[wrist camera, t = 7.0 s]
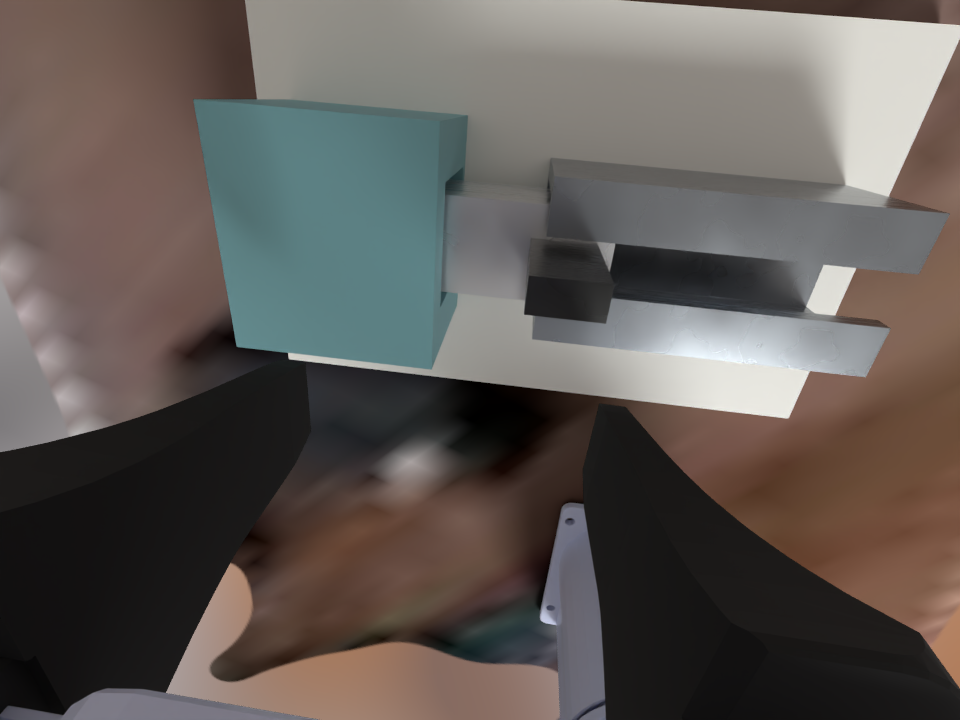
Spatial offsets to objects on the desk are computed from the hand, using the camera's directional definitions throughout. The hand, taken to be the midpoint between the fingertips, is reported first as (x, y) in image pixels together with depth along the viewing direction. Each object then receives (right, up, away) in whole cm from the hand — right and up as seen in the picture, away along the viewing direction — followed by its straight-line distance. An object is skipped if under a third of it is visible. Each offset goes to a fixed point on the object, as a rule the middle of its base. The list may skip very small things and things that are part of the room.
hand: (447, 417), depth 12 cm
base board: (+4, +7, +7) cm, 11 cm away
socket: (-3, +7, +7) cm, 10 cm away
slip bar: (0, +6, +6) cm, 8 cm away
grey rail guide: (+8, +6, +6) cm, 12 cm away
